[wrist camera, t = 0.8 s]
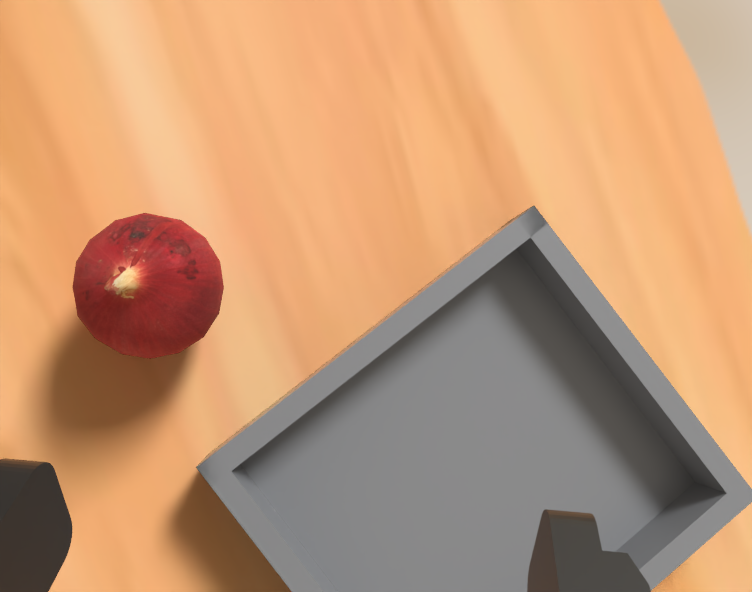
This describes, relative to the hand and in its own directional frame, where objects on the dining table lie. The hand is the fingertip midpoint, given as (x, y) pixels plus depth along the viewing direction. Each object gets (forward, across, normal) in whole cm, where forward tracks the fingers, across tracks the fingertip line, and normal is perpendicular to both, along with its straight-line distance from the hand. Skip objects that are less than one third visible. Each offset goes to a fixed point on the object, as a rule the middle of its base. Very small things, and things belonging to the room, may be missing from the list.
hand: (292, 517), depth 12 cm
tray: (+16, -5, +16) cm, 23 cm away
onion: (+19, +10, +9) cm, 23 cm away
